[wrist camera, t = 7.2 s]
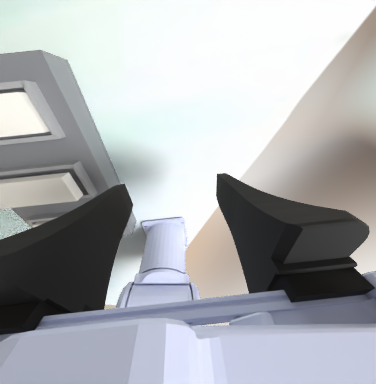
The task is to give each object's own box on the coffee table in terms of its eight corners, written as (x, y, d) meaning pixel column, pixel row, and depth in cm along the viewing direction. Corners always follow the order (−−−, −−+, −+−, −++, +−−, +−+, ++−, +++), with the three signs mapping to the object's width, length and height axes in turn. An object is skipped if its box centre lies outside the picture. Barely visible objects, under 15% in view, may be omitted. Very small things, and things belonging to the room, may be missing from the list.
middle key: (83, 194, 16) (77, 200, 15) (7, 203, 16) (-4, 209, 15) (69, 172, 14) (60, 177, 13) (-17, 181, 14) (-31, 187, 13)
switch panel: (136, 221, 25) (130, 239, 22) (62, 229, 25) (44, 248, 22) (67, 60, 13) (28, 45, 10) (-79, 75, 13) (-169, 65, 9)
